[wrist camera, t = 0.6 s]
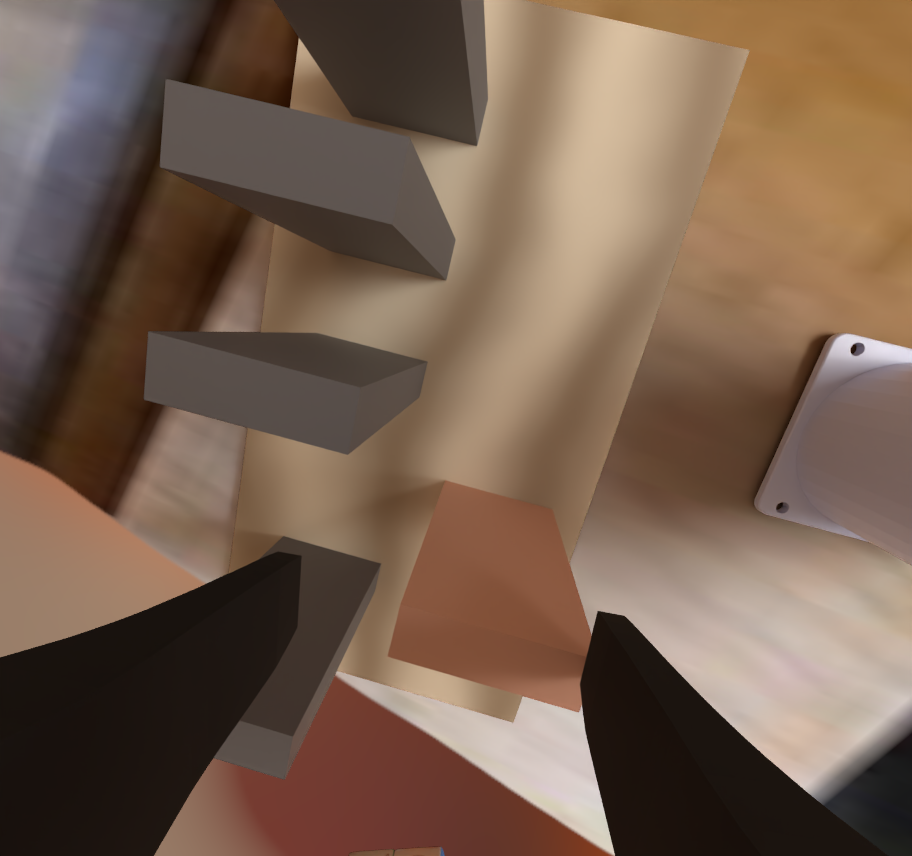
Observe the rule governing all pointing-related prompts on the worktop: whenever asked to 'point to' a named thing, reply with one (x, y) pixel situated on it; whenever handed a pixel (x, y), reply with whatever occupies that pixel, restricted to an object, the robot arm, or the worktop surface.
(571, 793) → the worktop surface
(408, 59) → the domino
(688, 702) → the robot arm
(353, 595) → the end domino
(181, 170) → the domino
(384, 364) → the domino
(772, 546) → the worktop surface
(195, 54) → the worktop surface
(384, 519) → the birch board
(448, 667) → the domino
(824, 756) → the worktop surface
